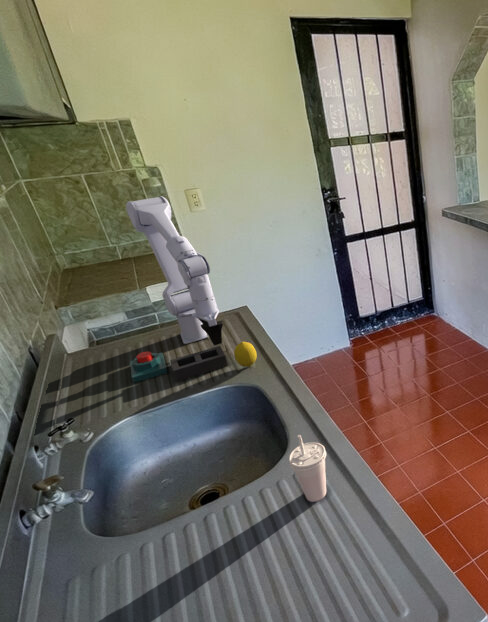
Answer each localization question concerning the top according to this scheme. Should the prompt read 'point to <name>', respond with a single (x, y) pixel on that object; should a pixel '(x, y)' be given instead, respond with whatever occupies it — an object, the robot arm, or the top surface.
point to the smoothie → (310, 469)
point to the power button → (144, 357)
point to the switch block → (148, 368)
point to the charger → (216, 345)
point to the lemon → (245, 354)
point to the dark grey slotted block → (198, 363)
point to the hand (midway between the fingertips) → (215, 339)
